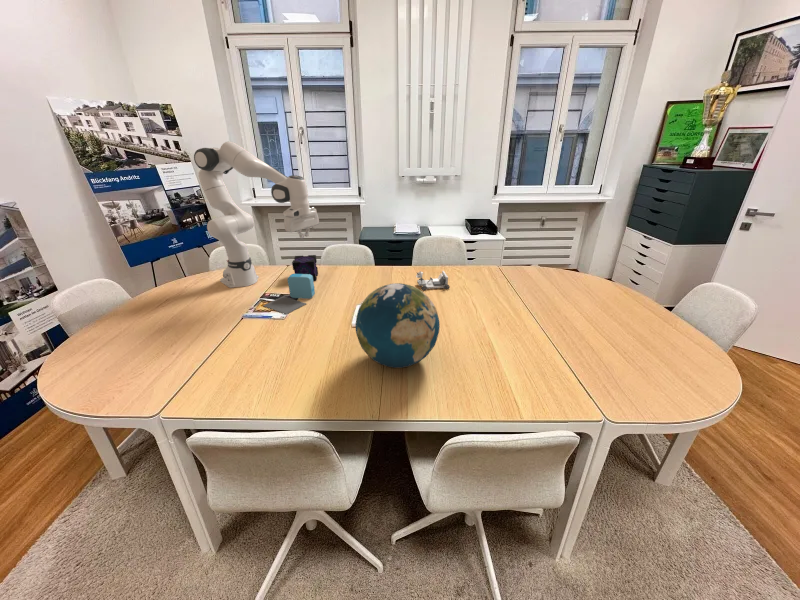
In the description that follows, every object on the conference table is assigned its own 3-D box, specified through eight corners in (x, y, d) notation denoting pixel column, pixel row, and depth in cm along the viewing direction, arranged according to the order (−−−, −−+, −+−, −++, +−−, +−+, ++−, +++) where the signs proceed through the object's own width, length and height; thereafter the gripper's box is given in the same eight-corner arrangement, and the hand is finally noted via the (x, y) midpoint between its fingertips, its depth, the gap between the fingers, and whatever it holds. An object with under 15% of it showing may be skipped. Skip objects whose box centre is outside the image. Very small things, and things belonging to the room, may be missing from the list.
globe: (363, 338, 145) (359, 271, 132) (435, 338, 144) (438, 271, 131) (352, 385, 118) (345, 306, 105) (440, 386, 117) (444, 306, 104)
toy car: (417, 274, 184) (414, 267, 194) (417, 291, 188) (413, 283, 198) (450, 272, 185) (445, 265, 196) (449, 289, 189) (444, 281, 200)
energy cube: (298, 274, 212) (295, 255, 206) (318, 273, 213) (315, 254, 208) (295, 282, 201) (291, 262, 196) (316, 281, 202) (313, 261, 197)
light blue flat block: (315, 295, 184) (312, 274, 179) (312, 298, 180) (309, 277, 175) (293, 294, 186) (290, 273, 180) (290, 298, 181) (286, 276, 176)
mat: (263, 306, 173) (262, 305, 173) (283, 296, 183) (283, 296, 183) (286, 314, 165) (286, 313, 165) (306, 304, 174) (306, 303, 174)
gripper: (311, 205, 183) (314, 231, 189) (280, 212, 168) (284, 240, 174) (320, 207, 180) (323, 233, 186) (289, 214, 165) (293, 242, 171)
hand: (304, 237), depth 180 cm, fingers closed
